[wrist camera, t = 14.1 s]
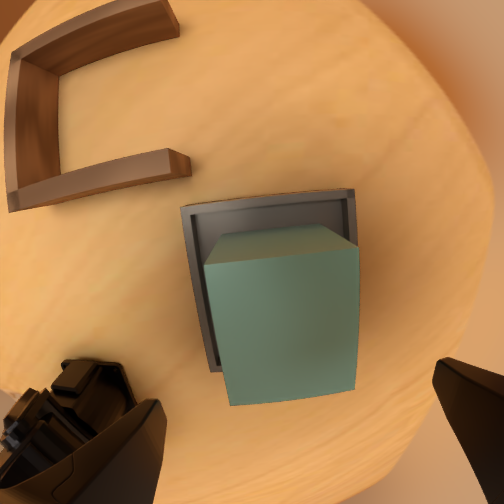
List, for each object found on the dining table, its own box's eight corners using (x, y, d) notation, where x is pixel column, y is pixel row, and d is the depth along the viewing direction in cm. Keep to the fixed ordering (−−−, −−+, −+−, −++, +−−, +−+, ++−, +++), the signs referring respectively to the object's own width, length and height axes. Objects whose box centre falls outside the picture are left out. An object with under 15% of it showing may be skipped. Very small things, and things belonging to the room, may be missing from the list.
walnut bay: (191, 175, 18) (170, 173, 13) (52, 204, 18) (8, 212, 13) (178, 23, 15) (160, -14, 11) (48, 69, 16) (11, 52, 11)
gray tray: (348, 340, 21) (356, 354, 19) (213, 356, 21) (210, 372, 19) (344, 188, 18) (354, 188, 16) (187, 204, 18) (180, 207, 16)
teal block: (324, 326, 19) (354, 389, 13) (236, 336, 20) (230, 405, 13) (319, 223, 18) (359, 247, 11) (221, 234, 18) (203, 265, 11)
